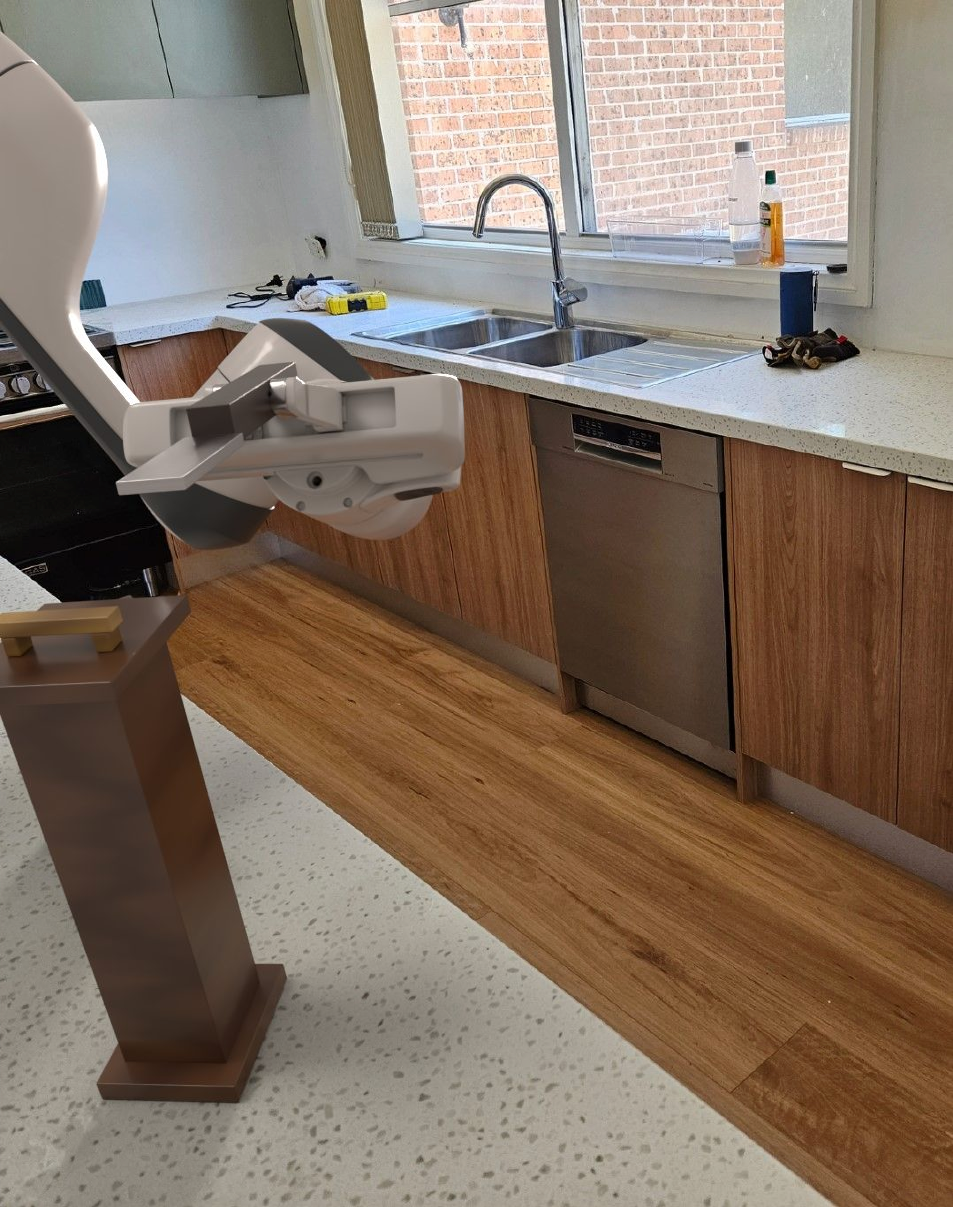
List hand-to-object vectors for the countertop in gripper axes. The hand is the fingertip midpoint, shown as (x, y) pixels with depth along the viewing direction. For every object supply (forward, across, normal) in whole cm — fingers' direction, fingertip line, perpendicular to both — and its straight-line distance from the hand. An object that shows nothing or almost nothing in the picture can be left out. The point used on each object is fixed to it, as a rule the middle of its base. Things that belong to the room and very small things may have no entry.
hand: (249, 395), depth 56 cm
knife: (+2, 0, +3) cm, 3 cm away
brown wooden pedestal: (-8, -7, +35) cm, 37 cm away
